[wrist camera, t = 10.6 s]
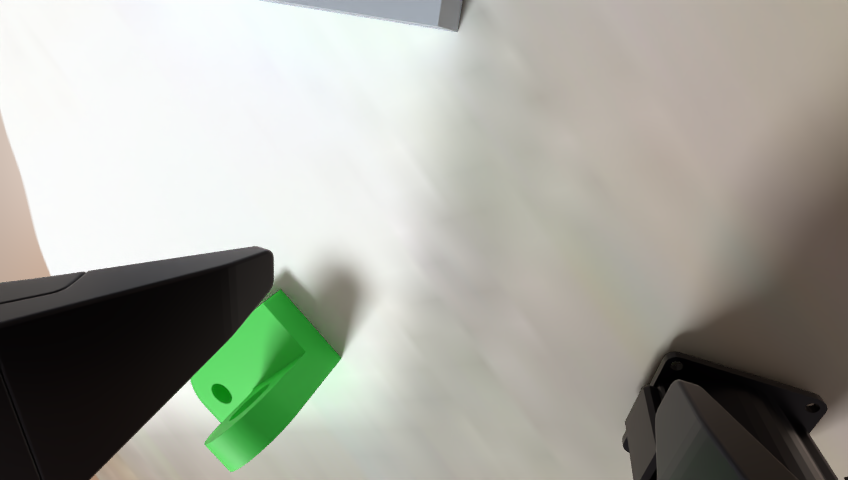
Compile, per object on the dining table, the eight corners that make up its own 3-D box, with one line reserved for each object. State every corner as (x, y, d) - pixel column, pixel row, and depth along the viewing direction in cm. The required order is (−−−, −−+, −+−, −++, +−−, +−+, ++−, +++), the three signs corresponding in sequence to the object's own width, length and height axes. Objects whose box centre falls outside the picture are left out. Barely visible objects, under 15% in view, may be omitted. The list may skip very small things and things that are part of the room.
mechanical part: (282, 287, 27) (180, 365, 20) (342, 356, 28) (264, 454, 21) (198, 359, 33) (96, 439, 26) (249, 415, 33) (163, 508, 26)
